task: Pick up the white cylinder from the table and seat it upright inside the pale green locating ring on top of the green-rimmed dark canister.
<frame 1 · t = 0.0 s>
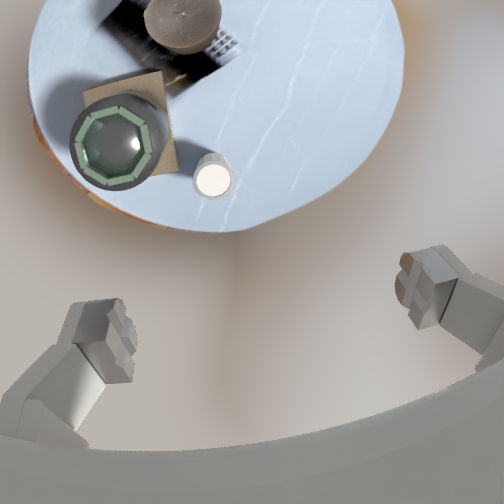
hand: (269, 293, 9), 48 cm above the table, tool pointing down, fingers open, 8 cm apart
green-rimmed dark canister: (131, 128, 48), on the table
white cylinder: (212, 166, 55), on the table
pillar candle: (188, 27, 40), on the table
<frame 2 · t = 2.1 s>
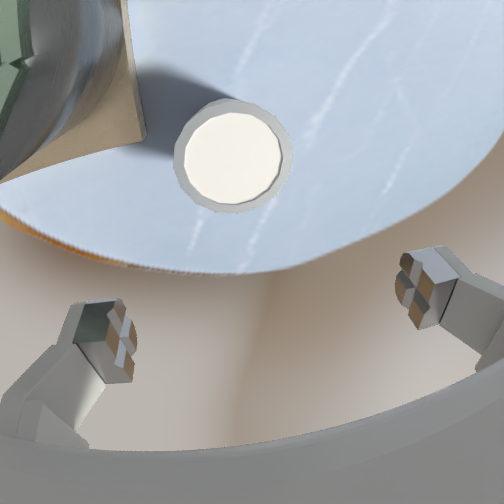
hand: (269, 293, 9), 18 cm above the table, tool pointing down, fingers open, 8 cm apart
green-rimmed dark canister: (47, 53, 16), on the table
white cylinder: (226, 132, 23), on the table
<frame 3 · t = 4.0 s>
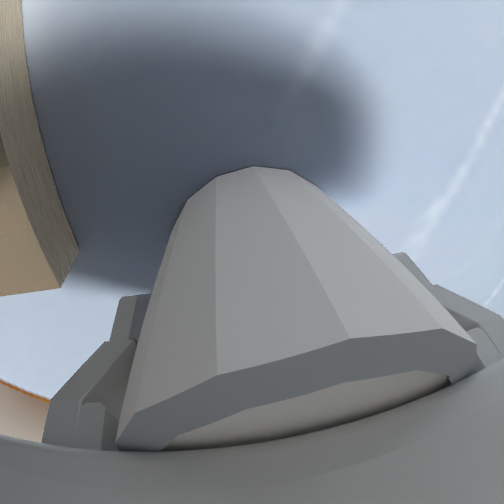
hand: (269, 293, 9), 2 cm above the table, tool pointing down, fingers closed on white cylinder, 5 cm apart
white cylinder: (255, 244, 11), on the table, touching gripper
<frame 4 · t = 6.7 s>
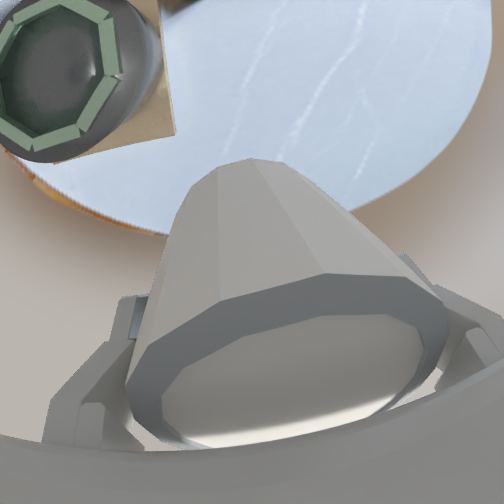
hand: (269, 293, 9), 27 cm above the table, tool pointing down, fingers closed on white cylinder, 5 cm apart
green-rimmed dark canister: (100, 66, 25), on the table
white cylinder: (251, 230, 12), point 23 cm above the table, touching gripper
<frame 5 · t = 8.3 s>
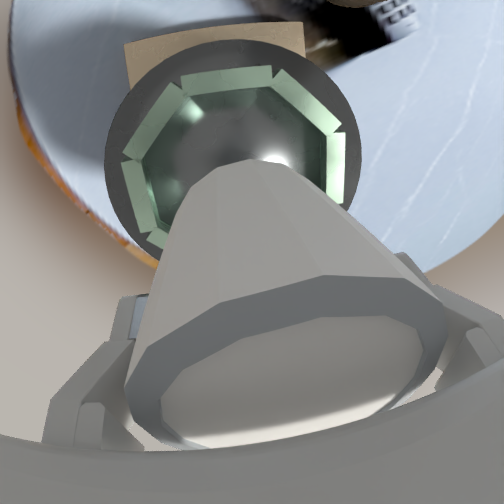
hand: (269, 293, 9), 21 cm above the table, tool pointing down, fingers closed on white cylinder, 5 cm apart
green-rimmed dark canister: (224, 127, 26), on the table
white cylinder: (250, 230, 12), point 17 cm above the table, touching gripper
when the fingers open (16 cm above the table, at t = 9.7 s): white cylinder stays where it is, resting on green-rimmed dark canister.
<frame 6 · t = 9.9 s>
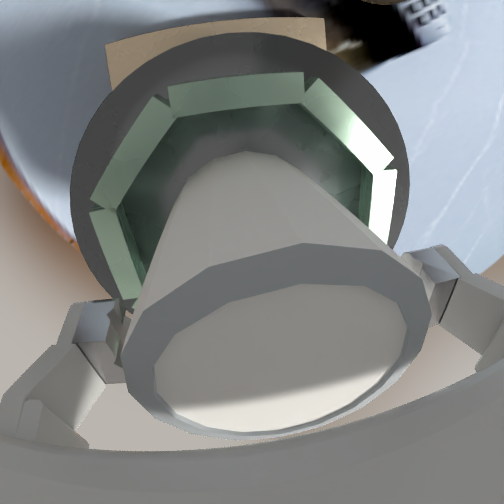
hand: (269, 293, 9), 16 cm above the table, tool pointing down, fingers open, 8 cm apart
green-rimmed dark canister: (227, 144, 22), on the table
white cylinder: (246, 220, 12), point 12 cm above the table, touching green-rimmed dark canister
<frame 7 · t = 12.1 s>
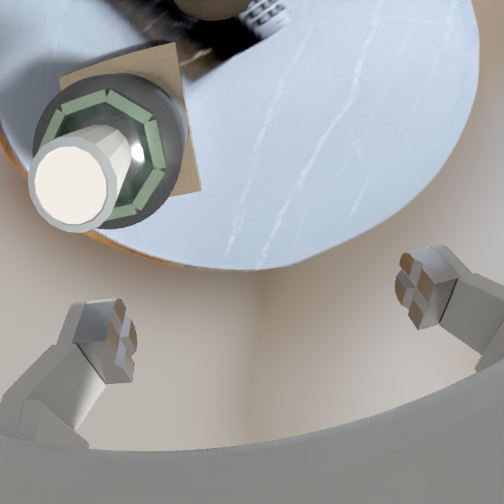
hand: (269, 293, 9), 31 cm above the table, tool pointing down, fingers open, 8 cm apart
green-rimmed dark canister: (131, 128, 33), on the table
white cylinder: (100, 155, 23), point 12 cm above the table, touching green-rimmed dark canister
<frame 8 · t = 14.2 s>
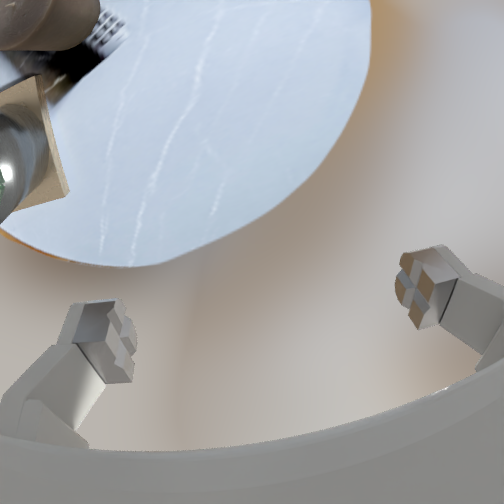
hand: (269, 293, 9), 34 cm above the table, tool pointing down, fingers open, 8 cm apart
green-rimmed dark canister: (17, 147, 33), on the table
pillar candle: (67, 16, 25), on the table
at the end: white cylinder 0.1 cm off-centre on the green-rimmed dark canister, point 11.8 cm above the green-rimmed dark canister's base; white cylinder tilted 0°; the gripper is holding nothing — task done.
